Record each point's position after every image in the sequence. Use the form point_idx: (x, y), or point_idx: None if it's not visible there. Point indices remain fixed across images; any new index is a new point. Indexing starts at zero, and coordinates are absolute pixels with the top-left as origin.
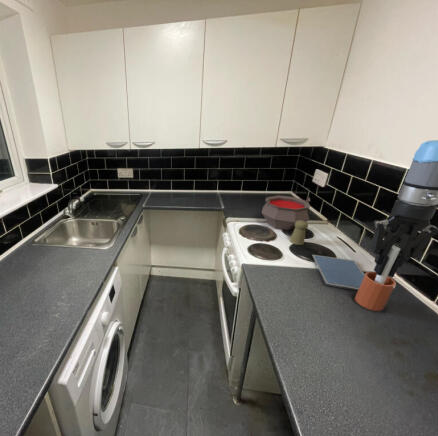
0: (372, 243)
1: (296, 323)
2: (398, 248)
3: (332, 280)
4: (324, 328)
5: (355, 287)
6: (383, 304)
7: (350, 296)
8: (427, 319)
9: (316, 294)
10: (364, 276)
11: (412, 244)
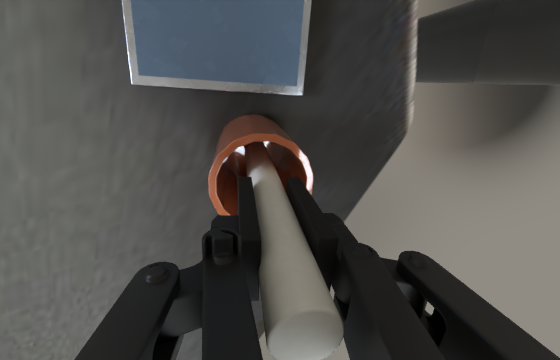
0: (101, 337)
1: (30, 292)
2: (326, 345)
3: (160, 55)
4: (103, 284)
5: (237, 84)
6: None
7: (209, 130)
8: (367, 174)
9: (94, 152)
10: (209, 172)
11: (476, 339)
